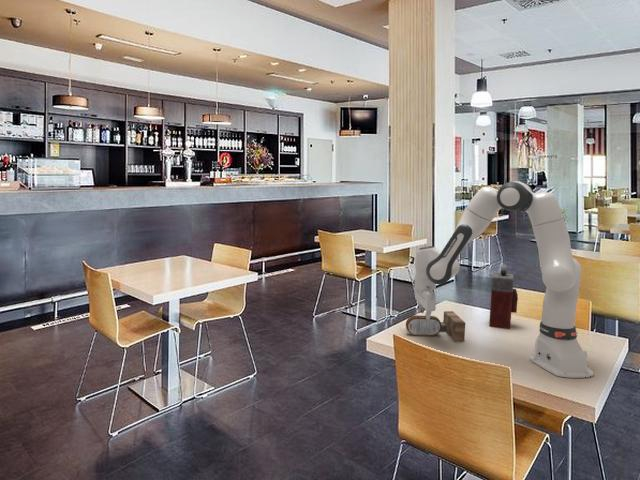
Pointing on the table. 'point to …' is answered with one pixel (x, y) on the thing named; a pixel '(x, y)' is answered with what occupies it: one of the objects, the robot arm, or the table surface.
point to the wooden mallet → (453, 326)
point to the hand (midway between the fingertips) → (424, 315)
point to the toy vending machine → (502, 299)
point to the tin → (423, 325)
